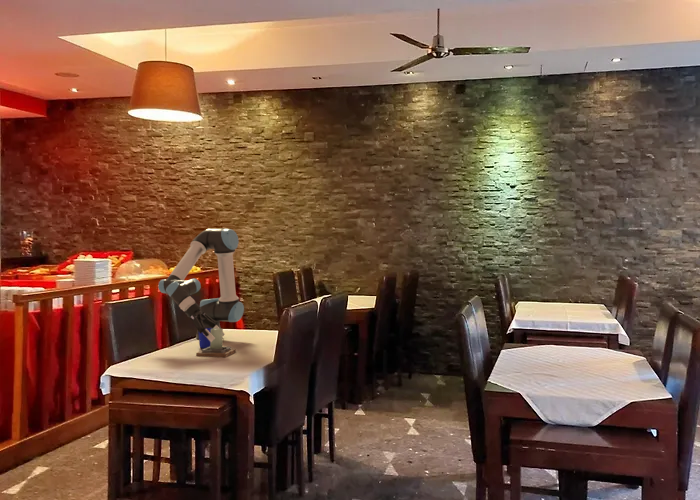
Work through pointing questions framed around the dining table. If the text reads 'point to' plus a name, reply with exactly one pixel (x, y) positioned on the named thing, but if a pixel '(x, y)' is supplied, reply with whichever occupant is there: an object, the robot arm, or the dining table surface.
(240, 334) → the dining table surface
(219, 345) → the sleeve
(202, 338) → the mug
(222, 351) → the socket board
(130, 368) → the dining table surface
